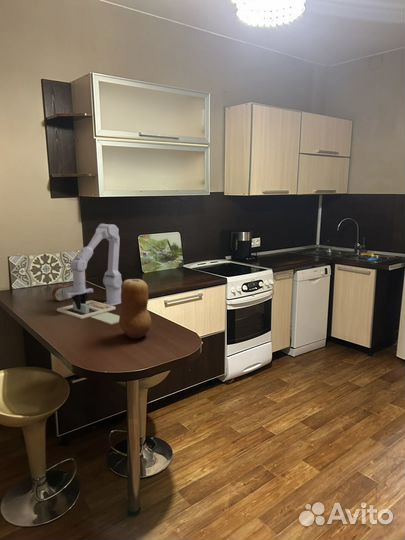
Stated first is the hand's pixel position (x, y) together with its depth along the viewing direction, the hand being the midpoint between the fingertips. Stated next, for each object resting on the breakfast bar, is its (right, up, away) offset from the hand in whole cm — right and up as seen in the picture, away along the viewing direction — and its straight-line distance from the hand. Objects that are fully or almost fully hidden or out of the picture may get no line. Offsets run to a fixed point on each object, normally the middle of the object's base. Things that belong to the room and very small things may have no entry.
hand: (80, 308), depth 205 cm
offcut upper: (+6, 0, +7) cm, 10 cm away
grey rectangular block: (0, -2, 0) cm, 2 cm away
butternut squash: (+34, -9, -35) cm, 50 cm away
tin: (-16, +2, +24) cm, 30 cm away
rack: (+2, -1, +3) cm, 4 cm away
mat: (+17, -4, -10) cm, 20 cm away
